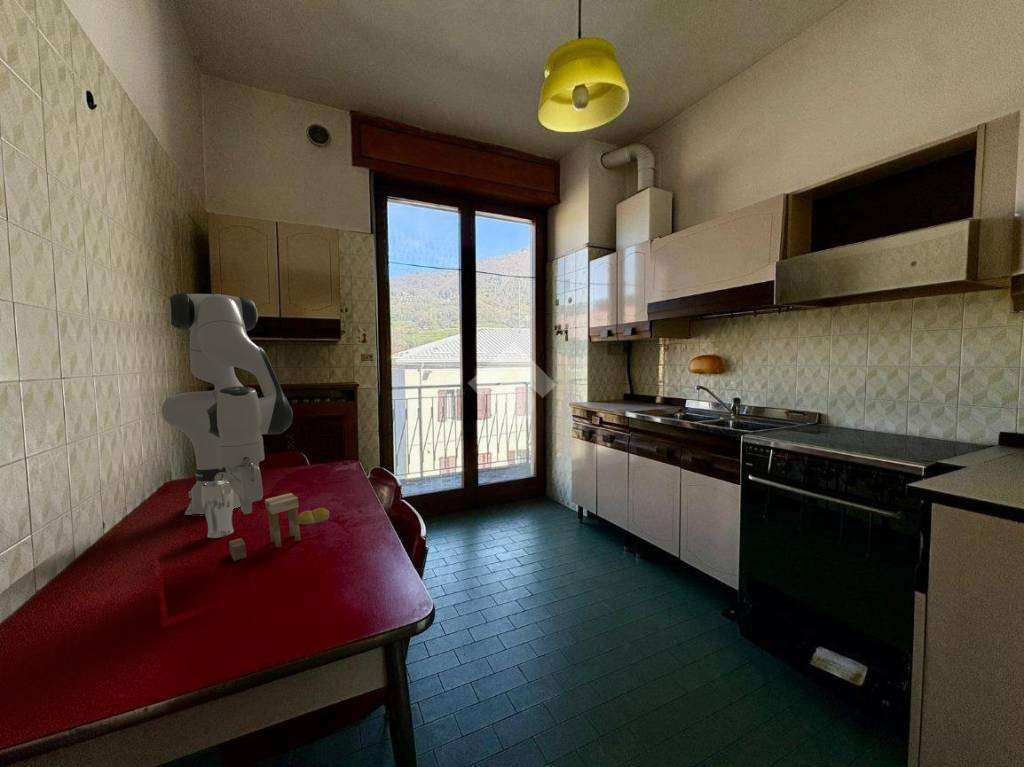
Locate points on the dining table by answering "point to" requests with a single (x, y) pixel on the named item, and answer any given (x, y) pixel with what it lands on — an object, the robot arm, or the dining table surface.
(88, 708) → the dining table surface
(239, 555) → the prop block
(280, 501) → the stool
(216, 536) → the beer glass
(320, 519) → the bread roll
